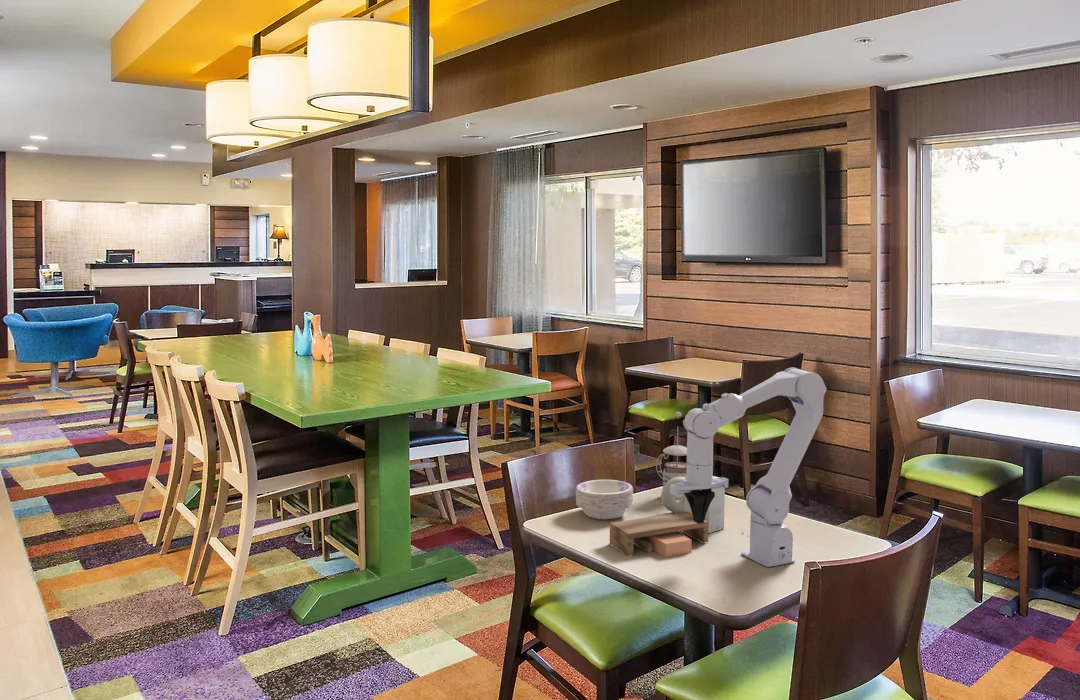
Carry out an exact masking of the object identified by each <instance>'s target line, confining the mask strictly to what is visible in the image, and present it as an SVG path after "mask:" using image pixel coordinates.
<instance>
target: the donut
mask: <svg viewBox="0 0 1080 700" xmlns="http://www.w3.org/2000/svg"><path fill="white" fill-rule="evenodd" d="M683 481H685V477H675V478H672V479H671V480H669V481H668V482H667V481H666V482H667V483H666V484H665V485H664V487H663V486H662V490H661V495H660V496H661V497H662V500H661V502H662V504H663V506H664V507H665V509H667V511H670V512H671V513H672V514H673V513H680V512H685V495H684V497H683V498H682V499H681V500H679V501H677V500H675V499H674V495H672V494H670V485H673V484H677V483H680V482H683Z"/></svg>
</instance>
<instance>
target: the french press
mask: <svg viewBox="0 0 1080 700" xmlns="http://www.w3.org/2000/svg"><path fill="white" fill-rule="evenodd" d="M674 417H677V418H679V417H682V413H681V412H680V411H675V413H674ZM676 430H677V433H676V434H677V437H676V439H677V440H676V445H670V446H667V447H666V448H664V449H663V450H662V452H663V453H662V454H660V455H659V456H657V459H656V462H655V469H656V472H657V475H658V476H659V477H660V479H662V488H663V487H664V485H665V484H666V483H667V482H668V481H669V480H671V479H672V478H675V477H686V476H687V462H682V461H681V462H680V461H678V459H679V457H682V456H683V457H684V456H687V446H683V445H679V427H677V429H676ZM666 455H667V456H666ZM669 456H676V461H669V462H665V464H664V467H665V468H663V470H662V469H661V468H662V467H661V464H659V470H660V473H661V474H660V473H659V471H658V462H659V463H661V462H662V458H664V460H666V459H668V458H669ZM658 460H659V461H658ZM662 471H663V472H662ZM661 475H662V476H661ZM659 497H660V498H661V499H662V497H661V495H659ZM683 497H684V493H681V494H678V495H674V499H675V500H677V501H679V500H681V499H682V498H683ZM660 498H659V499H660ZM661 499H660V500H661Z"/></svg>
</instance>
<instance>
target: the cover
mask: <svg viewBox="0 0 1080 700" xmlns="http://www.w3.org/2000/svg"><path fill="white" fill-rule="evenodd" d="M689 538H690V537H689ZM689 538H687V537H685V536H683V535H681V534H679V533H677V532H670V533H664V534H657V535H651V536H648V537H647V541H648V542H650V543H652V550H653V549H654V551H655V550H656V551H655V552H657V553H659V554H660V553H661V555H662V556H664V557H665V556H666V557H672V555H673V556H678V555H684V554H689V553H690V554H691V553H692V538H691V539H689ZM683 553H684V554H683Z"/></svg>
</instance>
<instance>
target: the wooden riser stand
mask: <svg viewBox="0 0 1080 700" xmlns="http://www.w3.org/2000/svg"><path fill="white" fill-rule="evenodd" d="M670 532H677V533H679V534H681V535H683V536H685V537H687V538H689V539H690V537H691V538H693V539H694V538H695V540H696V539H697V540H696V541H698V540H699V541H698V542H700V541H701V542H700V543H702V542H703V543H702V544H706V543H705V542H708V543H709V533H708V521H706V520H704V523H701V524H698V523H696V522H694V519H693V515H692V514H691V513H689V512H680V513H673V512H672V513H667V514H666V513H665V514H661V515H660V514H659V515H655V516H648V517H640V518H634V519H626V520H619V521H613V522H609V545H611V546H612V545H613V546H612V547H613V548H615V547H616V549H617V550H619V551H620V550H621V551H620V552H621V553H624V554H625V555H626V556H629V557H630V555H631V556H634V545H635V546H637V547H638V546H639V548H640V549H642V550H643V551H645V552H647V553H652V552H653V549H652V543H650V542H648V541H647V537H648V536H651V535H657V534H664V533H670ZM685 534H686V535H685ZM633 543H634V544H633Z"/></svg>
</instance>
